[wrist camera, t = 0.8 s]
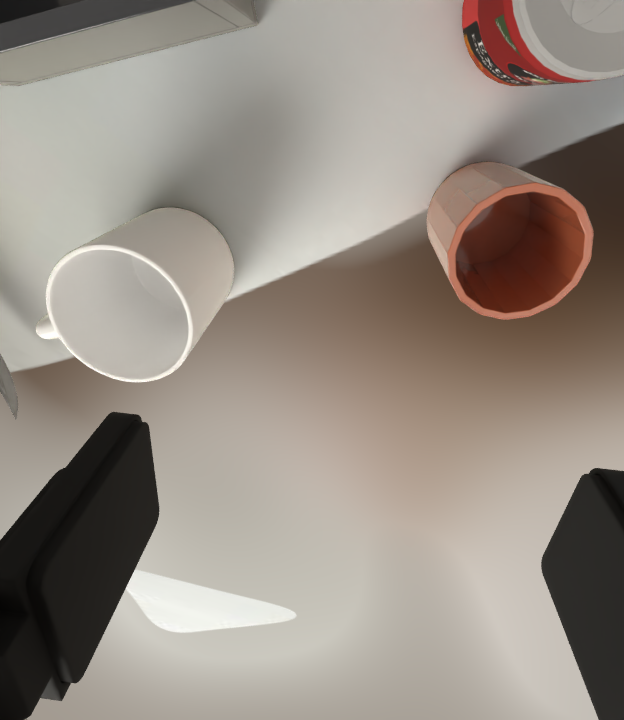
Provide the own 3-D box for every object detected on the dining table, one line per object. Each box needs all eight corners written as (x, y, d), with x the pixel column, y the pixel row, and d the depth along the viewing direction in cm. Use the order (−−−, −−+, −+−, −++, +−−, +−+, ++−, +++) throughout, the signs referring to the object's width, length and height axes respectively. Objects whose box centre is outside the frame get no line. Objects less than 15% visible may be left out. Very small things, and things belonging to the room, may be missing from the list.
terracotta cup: (534, 151, 29) (600, 170, 21) (531, 258, 32) (586, 309, 24) (422, 172, 30) (444, 198, 22) (429, 272, 33) (451, 326, 25)
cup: (253, 299, 35) (216, 366, 26) (118, 335, 38) (44, 407, 29) (209, 189, 31) (150, 224, 23) (63, 238, 34) (-40, 286, 25)
